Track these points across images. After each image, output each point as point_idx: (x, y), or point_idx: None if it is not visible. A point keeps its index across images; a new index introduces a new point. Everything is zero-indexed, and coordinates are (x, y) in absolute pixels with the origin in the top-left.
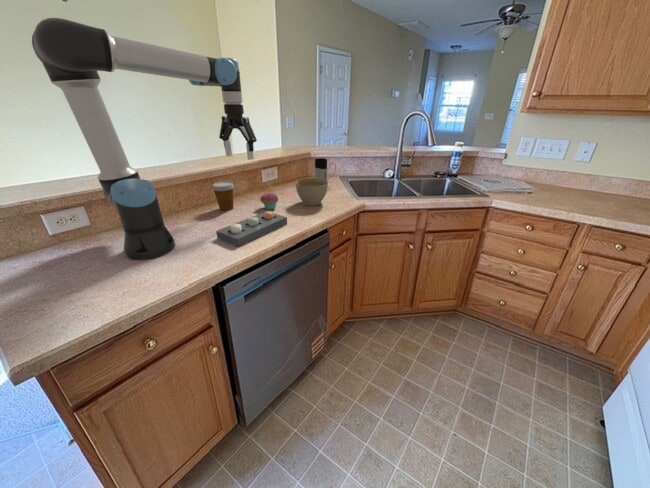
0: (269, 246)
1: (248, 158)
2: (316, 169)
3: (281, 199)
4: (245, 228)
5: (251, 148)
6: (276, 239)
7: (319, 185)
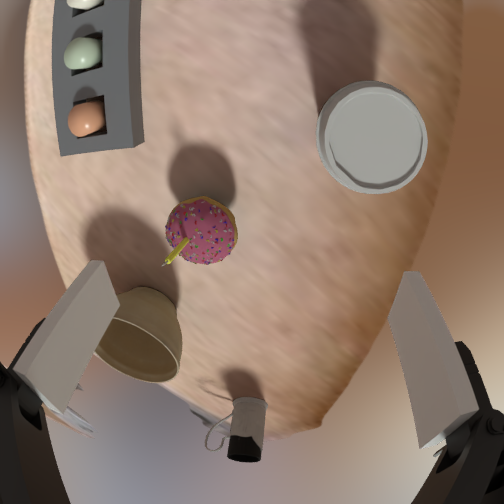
0: (27, 44)
1: (88, 266)
2: (248, 433)
3: (244, 293)
4: (80, 20)
5: (29, 341)
6: (35, 73)
7: (150, 364)
